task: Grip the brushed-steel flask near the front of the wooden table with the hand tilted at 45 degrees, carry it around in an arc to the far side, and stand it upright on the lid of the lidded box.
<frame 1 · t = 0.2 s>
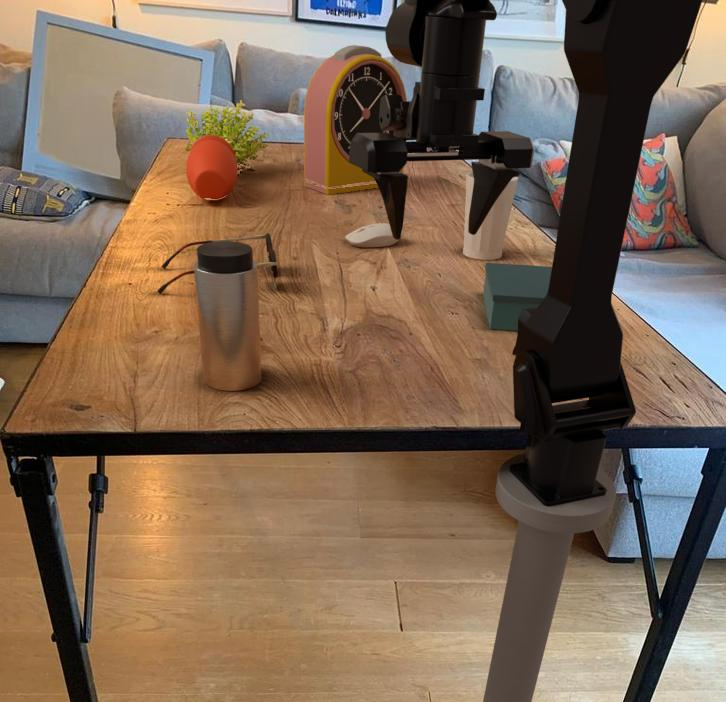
hand: (434, 236, 80), 12 cm above the table, tool pointing down, fingers open, 9 cm apart
computer mouse: (374, 244, 122), on the table
cup: (482, 255, 119), on the table
flask: (232, 378, 76), on the table
alarm clock: (354, 186, 160), on the table
potted plant: (226, 184, 156), on the table
sunglasses: (218, 281, 103), on the table
lidded box: (523, 313, 97), on the table
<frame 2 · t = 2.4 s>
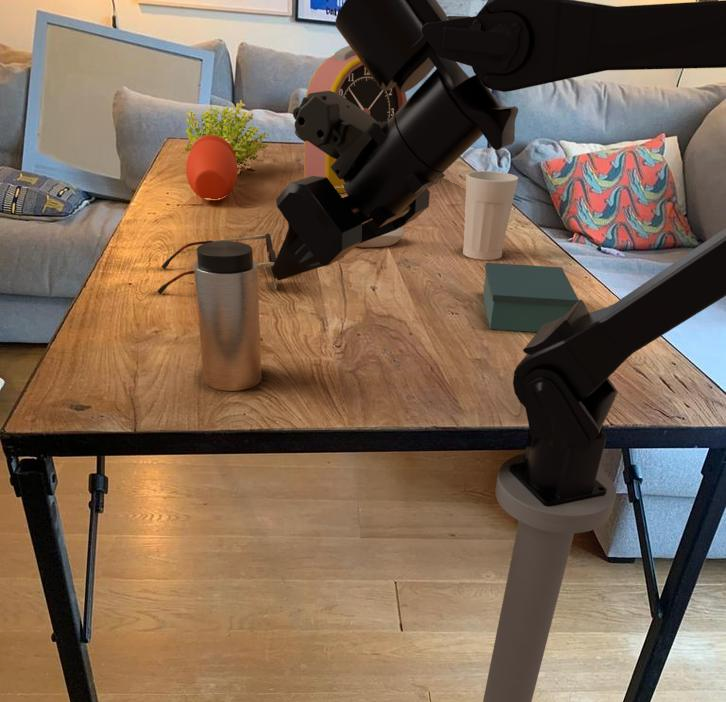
hand: (302, 262, 67), 13 cm above the table, tool tilted 45°, fingers open, 9 cm apart
nothing on the table moved.
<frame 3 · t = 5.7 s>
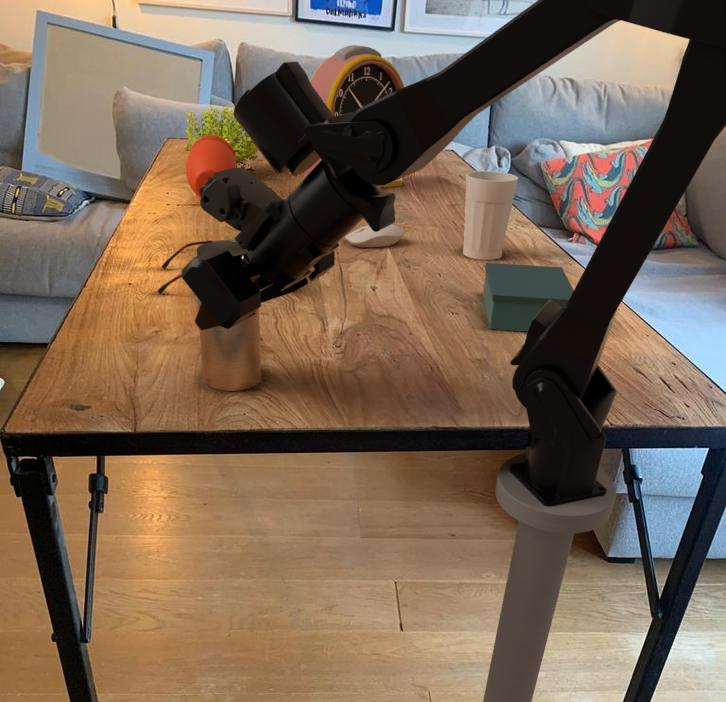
hand: (217, 315, 73), 7 cm above the table, tool tilted 45°, fingers closed on flask, 6 cm apart
flask: (232, 378, 76), on the table, touching gripper
everything else where it was.
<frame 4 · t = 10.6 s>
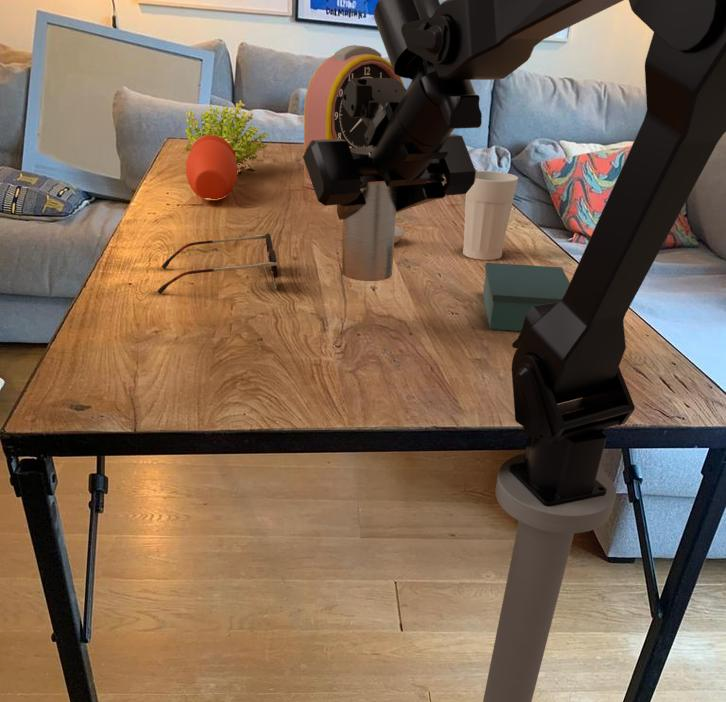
hand: (363, 213, 84), 13 cm above the table, tool tilted 45°, fingers closed on flask, 6 cm apart
flask: (367, 273, 87), point 7 cm above the table, touching gripper
everything else where it was.
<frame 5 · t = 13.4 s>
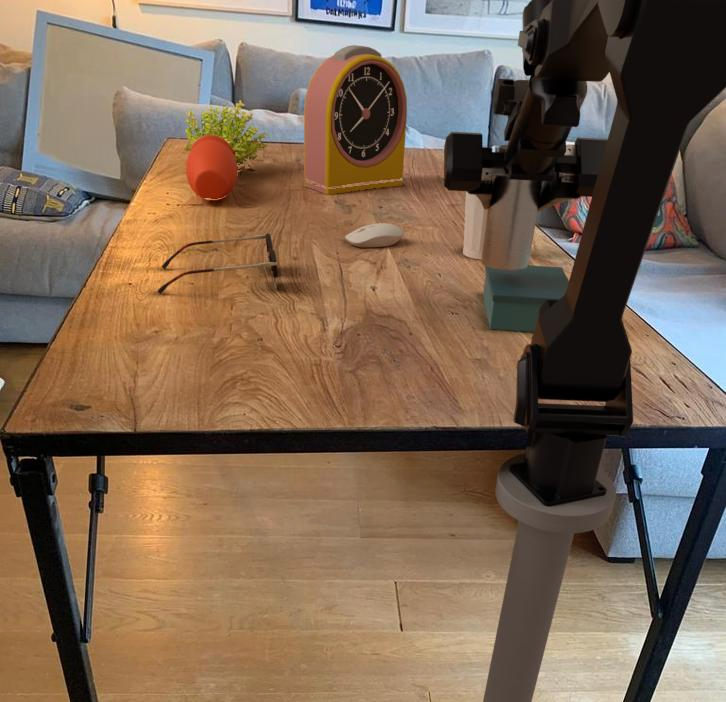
hand: (511, 207, 90), 13 cm above the table, tool tilted 45°, fingers closed on flask, 6 cm apart
flask: (504, 263, 93), point 7 cm above the table, touching gripper
everything else where it was.
when the fingers open (11 cm above the table, at t = 15.7 s): flask stays where it is, resting on lidded box.
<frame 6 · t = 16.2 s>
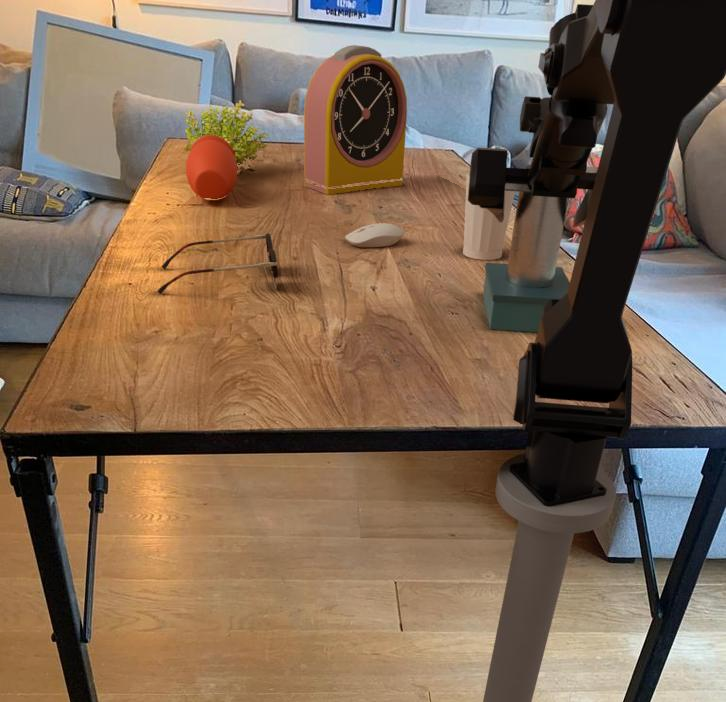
hand: (537, 221, 91), 12 cm above the table, tool tilted 45°, fingers open, 9 cm apart
flask: (529, 280, 94), point 4 cm above the table, touching lidded box
everything else where it was.
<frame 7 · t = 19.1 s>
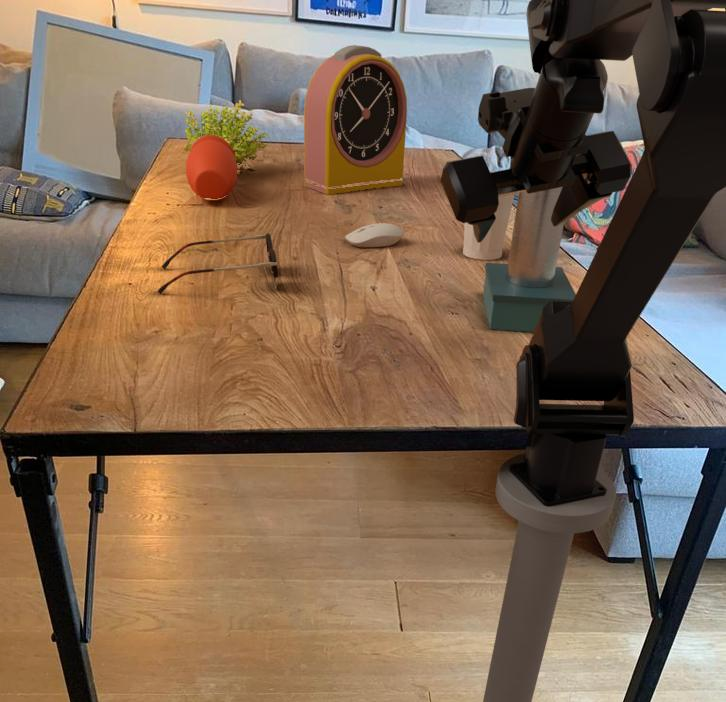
hand: (515, 231, 82), 13 cm above the table, tool tilted 35°, fingers open, 9 cm apart
nothing on the table moved.
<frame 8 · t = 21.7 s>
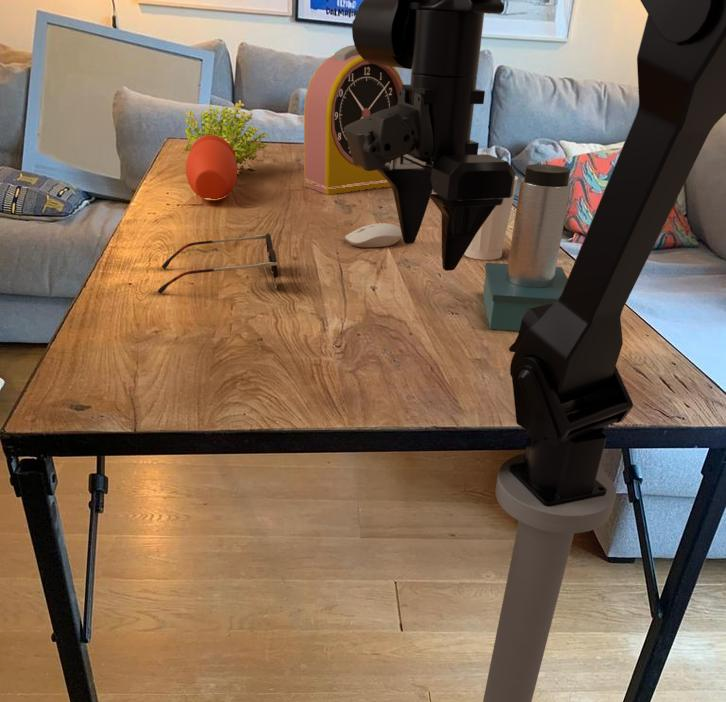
hand: (427, 255, 72), 13 cm above the table, tool pointing down, fingers open, 9 cm apart
nothing on the table moved.
at the end: flask inside the target area on the lidded box (0.1 cm from its centre), point 4.5 cm above the lidded box's base; flask tilted 0°; the gripper is holding nothing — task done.
